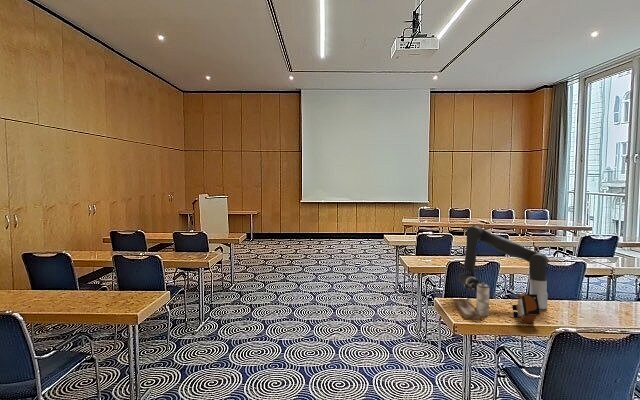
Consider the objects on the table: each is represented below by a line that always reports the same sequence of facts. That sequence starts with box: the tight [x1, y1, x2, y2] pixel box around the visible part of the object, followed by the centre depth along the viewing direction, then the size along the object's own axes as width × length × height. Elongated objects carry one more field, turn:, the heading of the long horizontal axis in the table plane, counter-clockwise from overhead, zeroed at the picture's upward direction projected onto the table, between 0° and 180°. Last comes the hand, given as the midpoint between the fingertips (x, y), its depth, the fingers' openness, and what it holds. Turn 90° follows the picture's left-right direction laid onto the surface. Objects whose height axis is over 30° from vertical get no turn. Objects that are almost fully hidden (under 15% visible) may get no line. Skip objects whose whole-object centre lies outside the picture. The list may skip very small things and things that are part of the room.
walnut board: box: [454, 300, 481, 321], centre depth 252 cm, size 8×30×3 cm, turn 173°
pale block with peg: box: [475, 282, 490, 317], centre depth 247 cm, size 6×6×18 cm
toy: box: [511, 293, 541, 324], centre depth 235 cm, size 16×6×20 cm
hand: (479, 289), depth 258 cm, fingers open, 8 cm apart
